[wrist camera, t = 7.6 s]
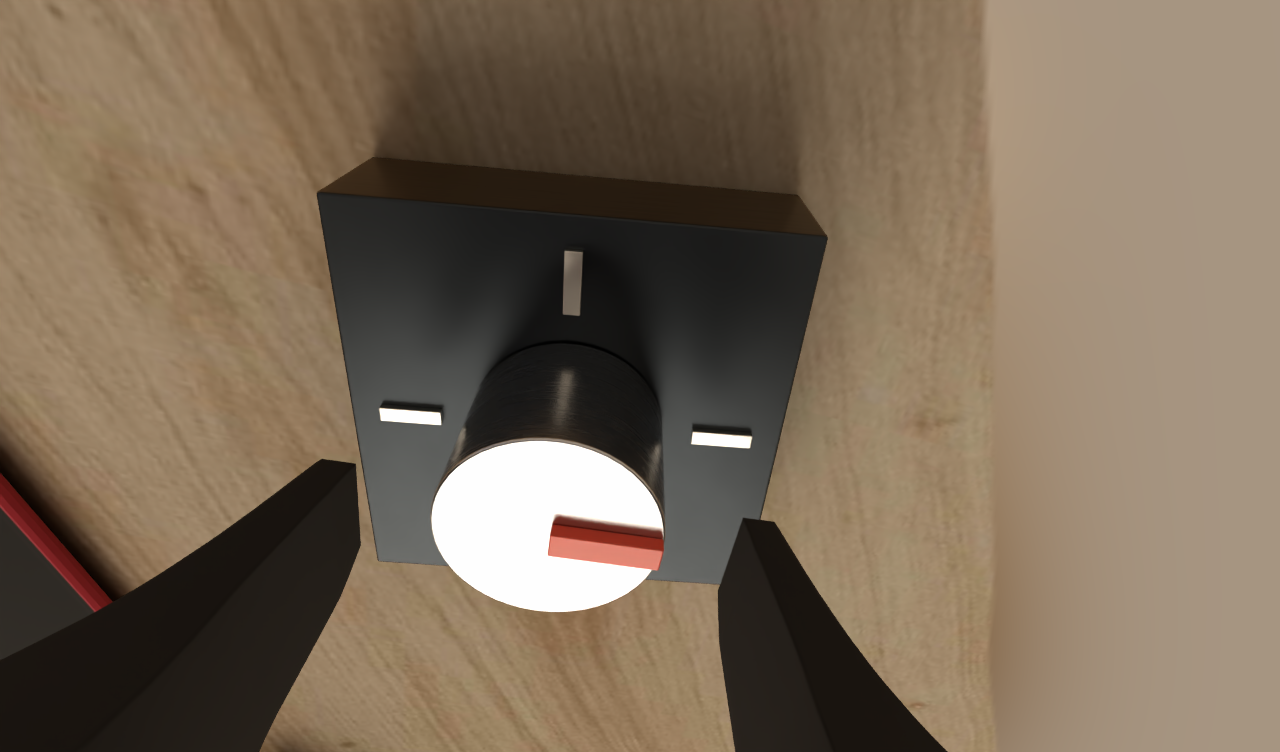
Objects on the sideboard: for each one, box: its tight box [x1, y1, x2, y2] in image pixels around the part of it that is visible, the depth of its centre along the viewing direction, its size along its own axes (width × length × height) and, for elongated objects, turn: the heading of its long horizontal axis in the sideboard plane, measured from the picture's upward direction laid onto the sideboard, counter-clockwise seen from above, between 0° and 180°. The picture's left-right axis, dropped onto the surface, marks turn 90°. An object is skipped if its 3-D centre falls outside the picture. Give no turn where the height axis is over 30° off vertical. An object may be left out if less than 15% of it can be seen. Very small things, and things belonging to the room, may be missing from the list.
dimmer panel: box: [317, 157, 828, 585], centre depth 17 cm, size 10×10×3 cm
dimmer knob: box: [430, 343, 665, 612], centre depth 14 cm, size 4×4×4 cm
